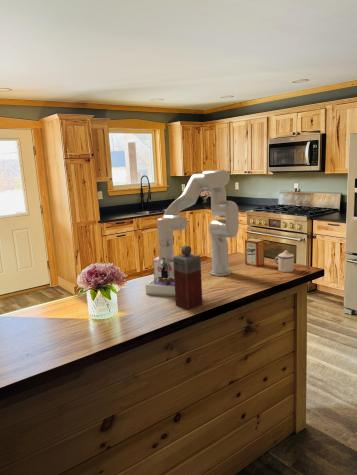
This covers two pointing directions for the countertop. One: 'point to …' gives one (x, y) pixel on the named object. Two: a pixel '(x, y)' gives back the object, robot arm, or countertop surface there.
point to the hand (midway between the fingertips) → (168, 275)
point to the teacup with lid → (285, 262)
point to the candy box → (157, 273)
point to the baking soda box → (254, 252)
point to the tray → (159, 289)
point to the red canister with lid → (187, 279)
